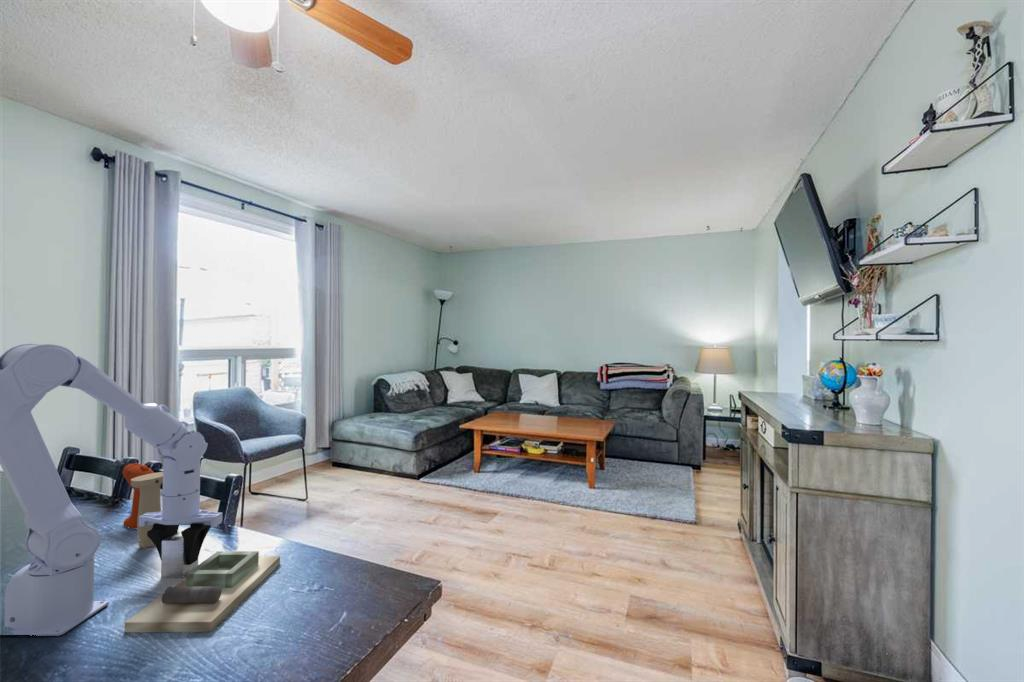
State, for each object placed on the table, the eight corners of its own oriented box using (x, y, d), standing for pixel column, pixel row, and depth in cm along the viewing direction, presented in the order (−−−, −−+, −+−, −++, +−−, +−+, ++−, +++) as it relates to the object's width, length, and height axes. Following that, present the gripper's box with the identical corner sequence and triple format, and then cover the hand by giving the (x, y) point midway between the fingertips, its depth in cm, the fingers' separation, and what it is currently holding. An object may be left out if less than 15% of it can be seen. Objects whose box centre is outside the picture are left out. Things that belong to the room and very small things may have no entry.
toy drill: (124, 503, 111) (129, 448, 111) (159, 527, 102) (164, 467, 102) (100, 509, 107) (105, 452, 106) (133, 535, 98) (139, 472, 97)
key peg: (161, 578, 79) (161, 540, 79) (177, 566, 83) (178, 531, 83) (182, 577, 79) (183, 540, 79) (198, 566, 83) (198, 531, 83)
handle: (172, 540, 94) (173, 473, 94) (138, 554, 88) (139, 482, 88) (158, 537, 95) (160, 471, 96) (124, 549, 89) (125, 479, 90)
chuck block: (124, 632, 64) (125, 605, 64) (214, 564, 84) (214, 544, 84) (210, 631, 64) (211, 605, 64) (279, 563, 84) (280, 543, 84)
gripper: (232, 484, 85) (231, 551, 85) (160, 484, 85) (159, 552, 85) (208, 497, 78) (207, 570, 78) (129, 497, 78) (127, 570, 78)
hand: (180, 562), depth 81 cm, fingers closed on key peg, 4 cm apart
